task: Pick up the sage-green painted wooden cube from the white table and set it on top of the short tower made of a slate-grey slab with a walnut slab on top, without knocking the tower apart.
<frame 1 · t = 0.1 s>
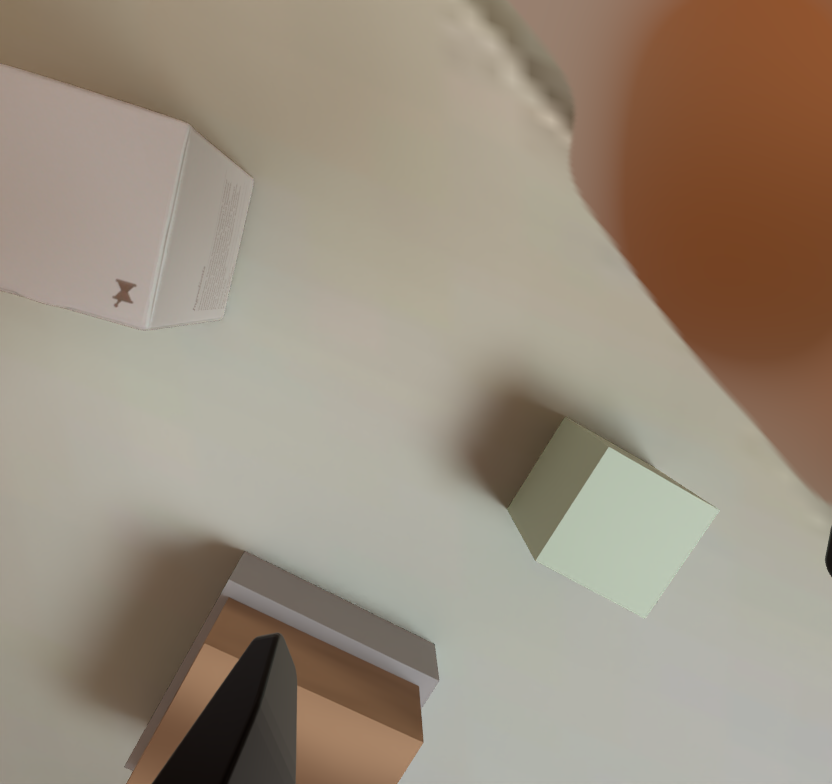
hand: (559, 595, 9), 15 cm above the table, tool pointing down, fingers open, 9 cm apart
product box: (169, 230, 22), on the table
green cube: (580, 488, 25), on the table
bottom slab: (293, 676, 27), on the table, touching top slab
top slab: (277, 726, 24), point 2 cm above the table, touching bottom slab
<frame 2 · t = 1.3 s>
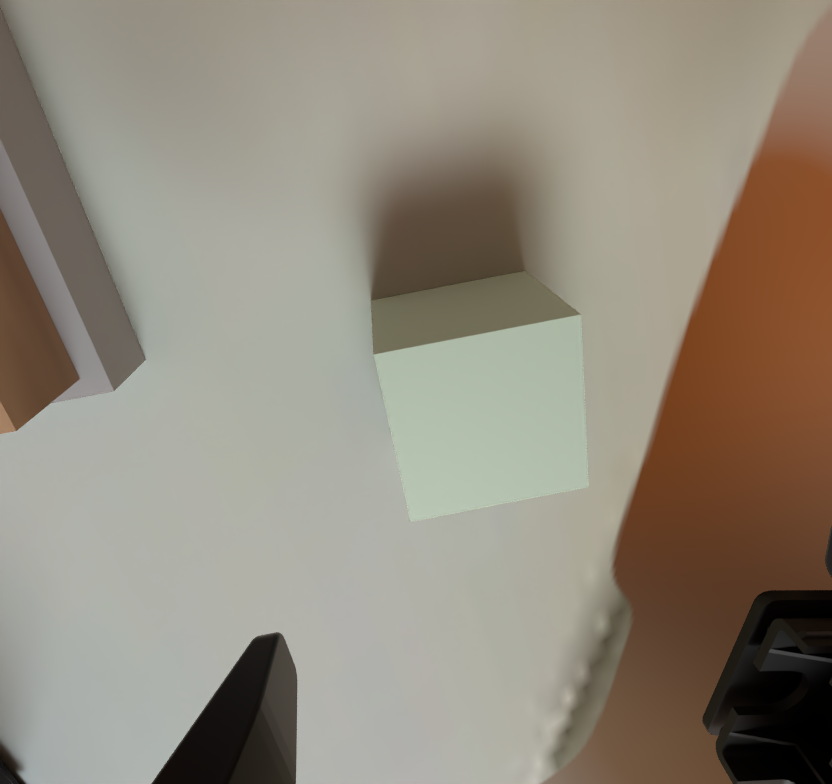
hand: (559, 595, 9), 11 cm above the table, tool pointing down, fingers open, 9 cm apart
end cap: (789, 656, 27), on the table
green cube: (458, 356, 18), on the table
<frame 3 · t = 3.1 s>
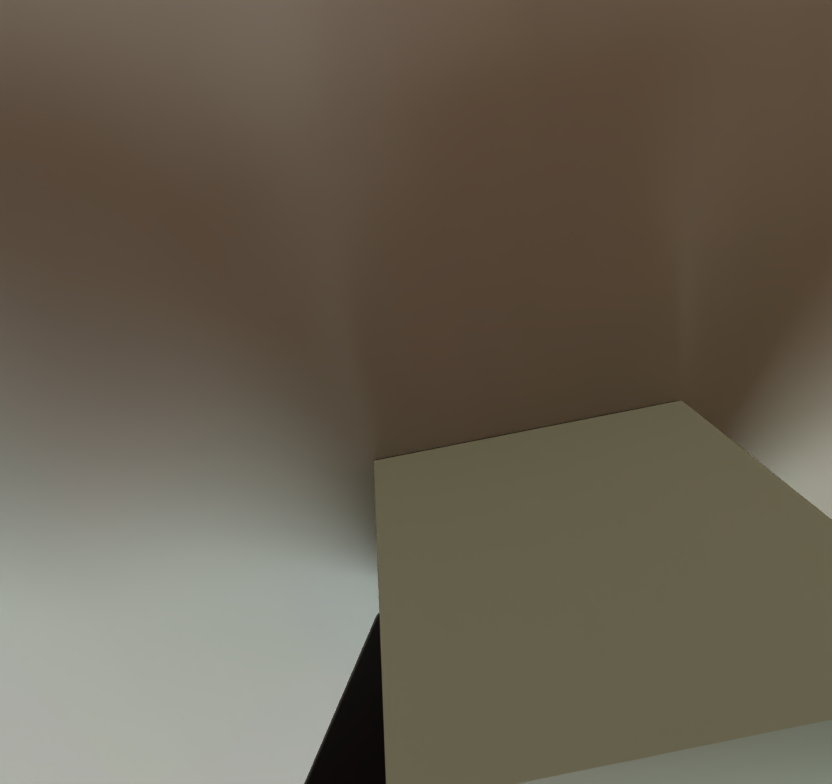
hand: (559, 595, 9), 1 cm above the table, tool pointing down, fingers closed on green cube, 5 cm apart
green cube: (539, 551, 10), on the table, touching gripper
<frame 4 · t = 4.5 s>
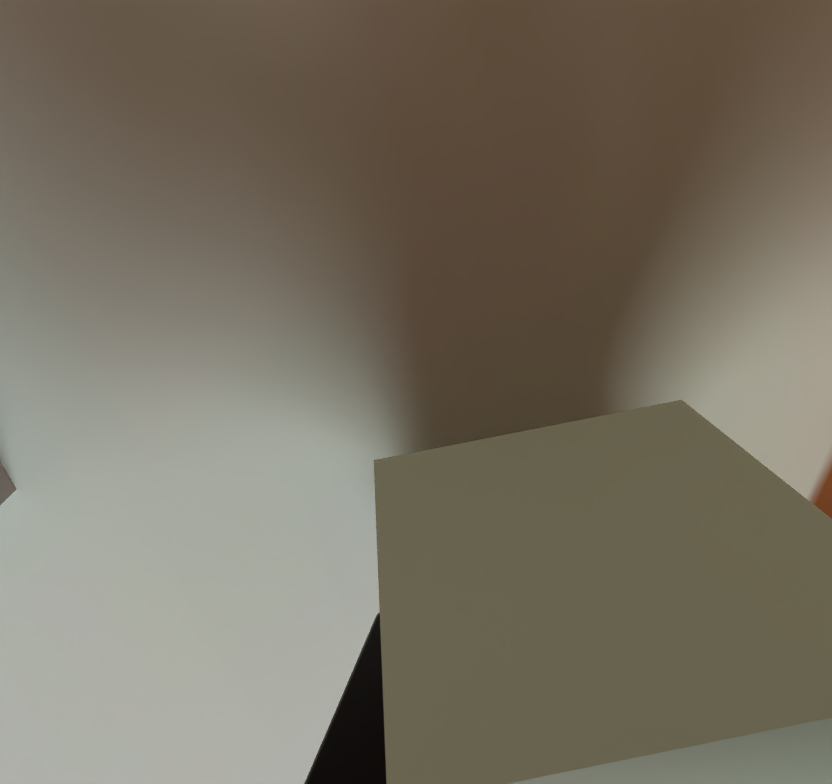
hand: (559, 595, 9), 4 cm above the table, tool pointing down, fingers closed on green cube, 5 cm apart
green cube: (539, 550, 10), point 2 cm above the table, touching gripper
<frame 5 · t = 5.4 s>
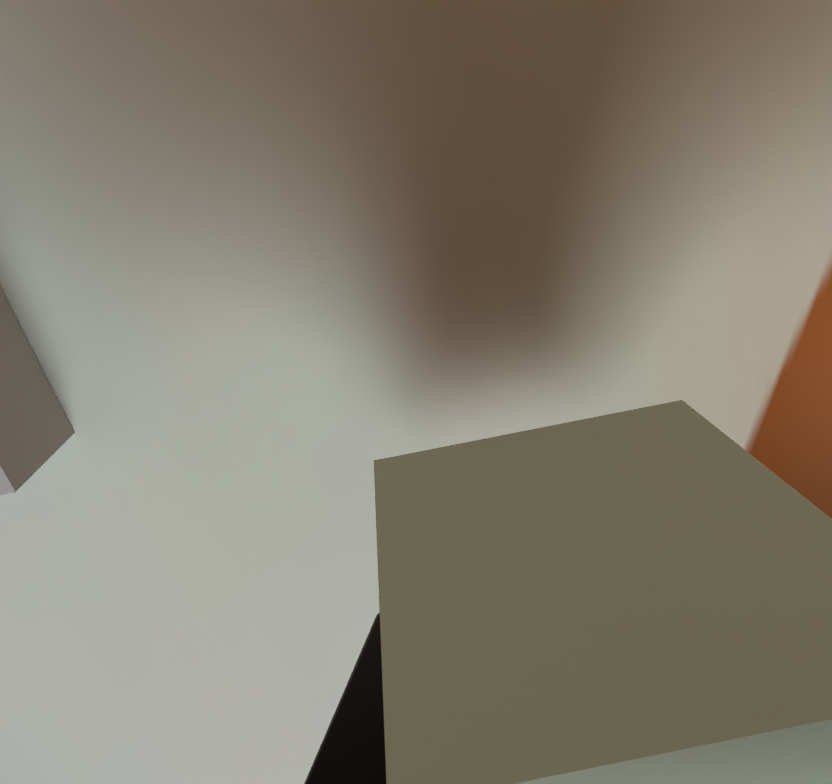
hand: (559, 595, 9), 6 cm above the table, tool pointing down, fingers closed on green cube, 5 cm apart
green cube: (539, 551, 10), point 5 cm above the table, touching gripper
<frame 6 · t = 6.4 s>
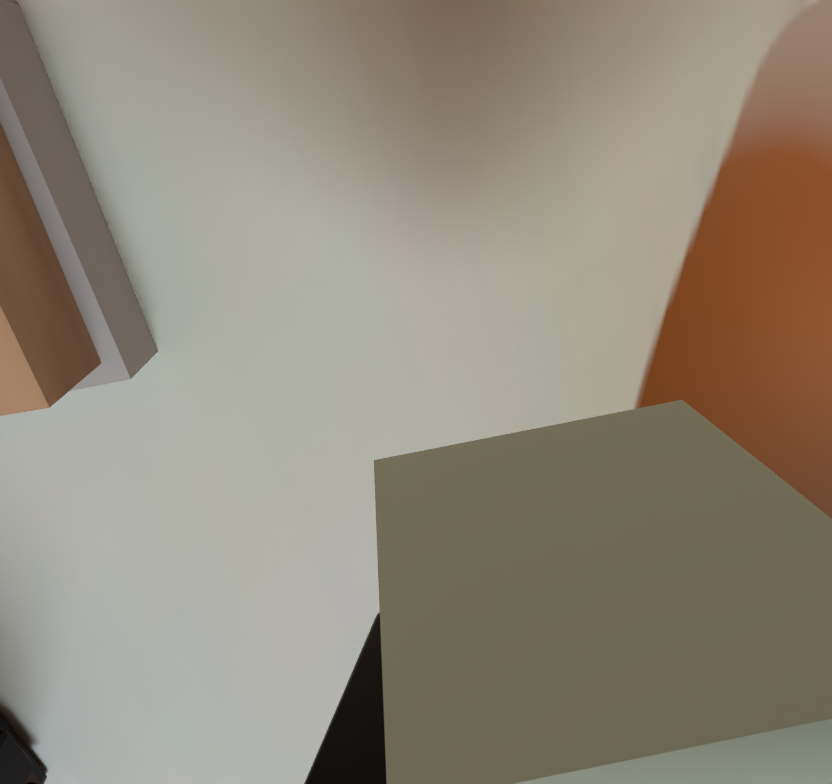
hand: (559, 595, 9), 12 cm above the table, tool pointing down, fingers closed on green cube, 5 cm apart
green cube: (540, 551, 10), point 11 cm above the table, touching gripper
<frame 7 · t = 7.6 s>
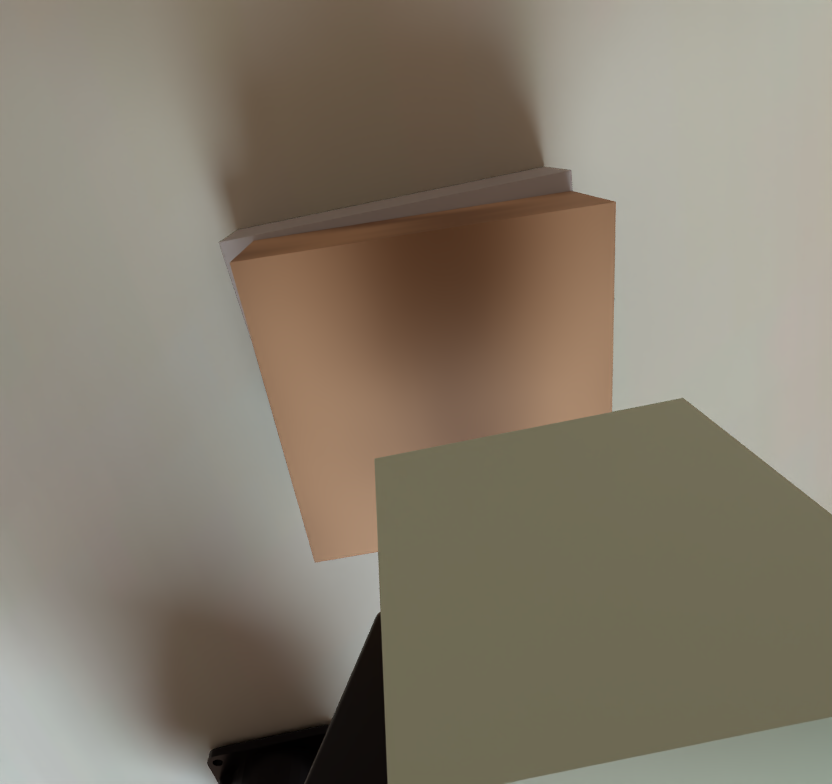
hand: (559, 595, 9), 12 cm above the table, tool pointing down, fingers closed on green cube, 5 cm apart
green cube: (540, 549, 10), point 11 cm above the table, touching gripper
bottom slab: (417, 338, 20), on the table, touching top slab
top slab: (433, 363, 17), point 2 cm above the table, touching bottom slab
when the fingers open (8 cm above the table, at t = 9.6 s): green cube drops 2 cm, resting on top slab.
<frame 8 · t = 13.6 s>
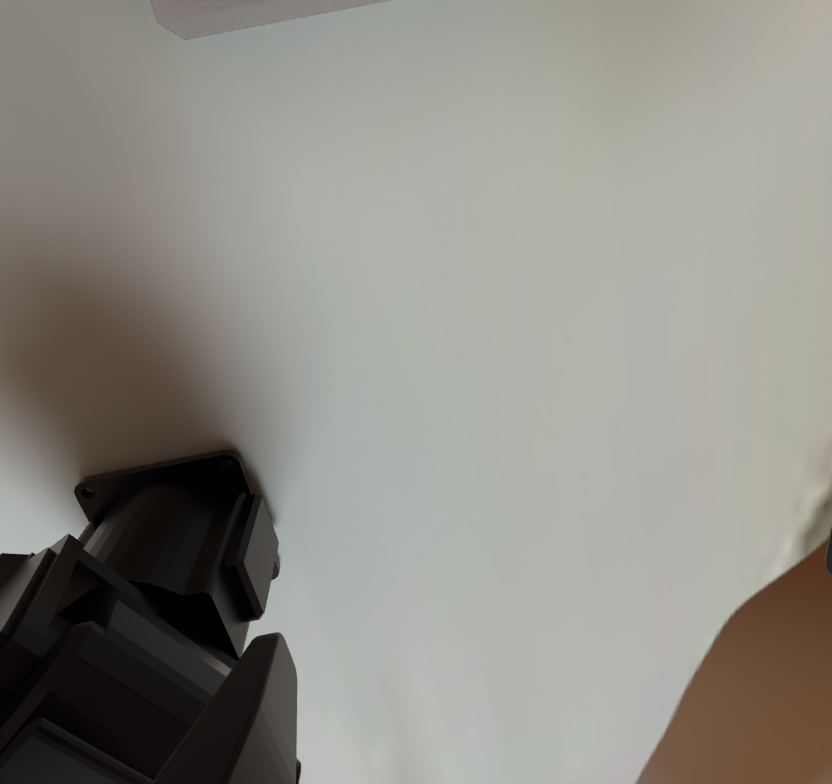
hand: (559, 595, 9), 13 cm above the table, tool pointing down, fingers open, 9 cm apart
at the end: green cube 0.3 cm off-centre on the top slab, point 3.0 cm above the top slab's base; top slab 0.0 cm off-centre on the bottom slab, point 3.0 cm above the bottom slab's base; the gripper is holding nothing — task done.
